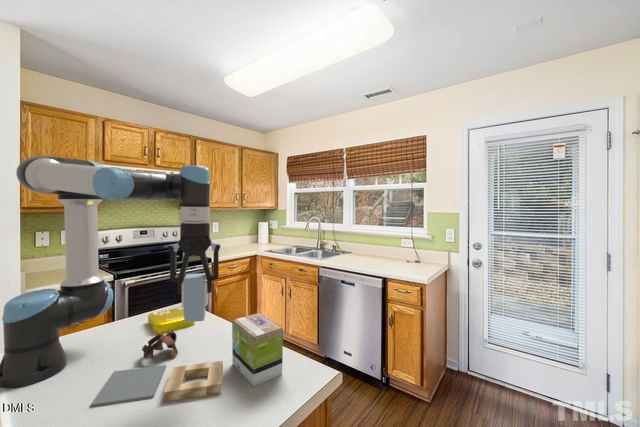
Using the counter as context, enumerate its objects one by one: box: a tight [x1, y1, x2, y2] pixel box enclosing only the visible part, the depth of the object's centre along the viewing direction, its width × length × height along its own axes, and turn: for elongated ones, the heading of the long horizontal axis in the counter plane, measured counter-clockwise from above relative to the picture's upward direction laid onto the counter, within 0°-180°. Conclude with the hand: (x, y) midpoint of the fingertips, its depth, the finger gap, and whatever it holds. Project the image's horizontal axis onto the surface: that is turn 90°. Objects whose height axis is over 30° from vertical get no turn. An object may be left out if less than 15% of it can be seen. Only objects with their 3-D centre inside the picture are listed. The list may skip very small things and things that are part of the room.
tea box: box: [231, 312, 284, 387], centre depth 91 cm, size 15×10×15 cm, turn 40°
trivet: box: [89, 364, 167, 408], centre depth 83 cm, size 14×15×1 cm
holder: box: [163, 360, 224, 402], centre depth 83 cm, size 14×12×2 cm
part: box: [183, 272, 207, 323], centre depth 83 cm, size 5×5×12 cm
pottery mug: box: [141, 331, 179, 360], centre depth 99 cm, size 12×10×8 cm
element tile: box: [147, 306, 195, 335], centre depth 123 cm, size 15×15×5 cm
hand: (195, 304), depth 83 cm, fingers closed on part, 5 cm apart
